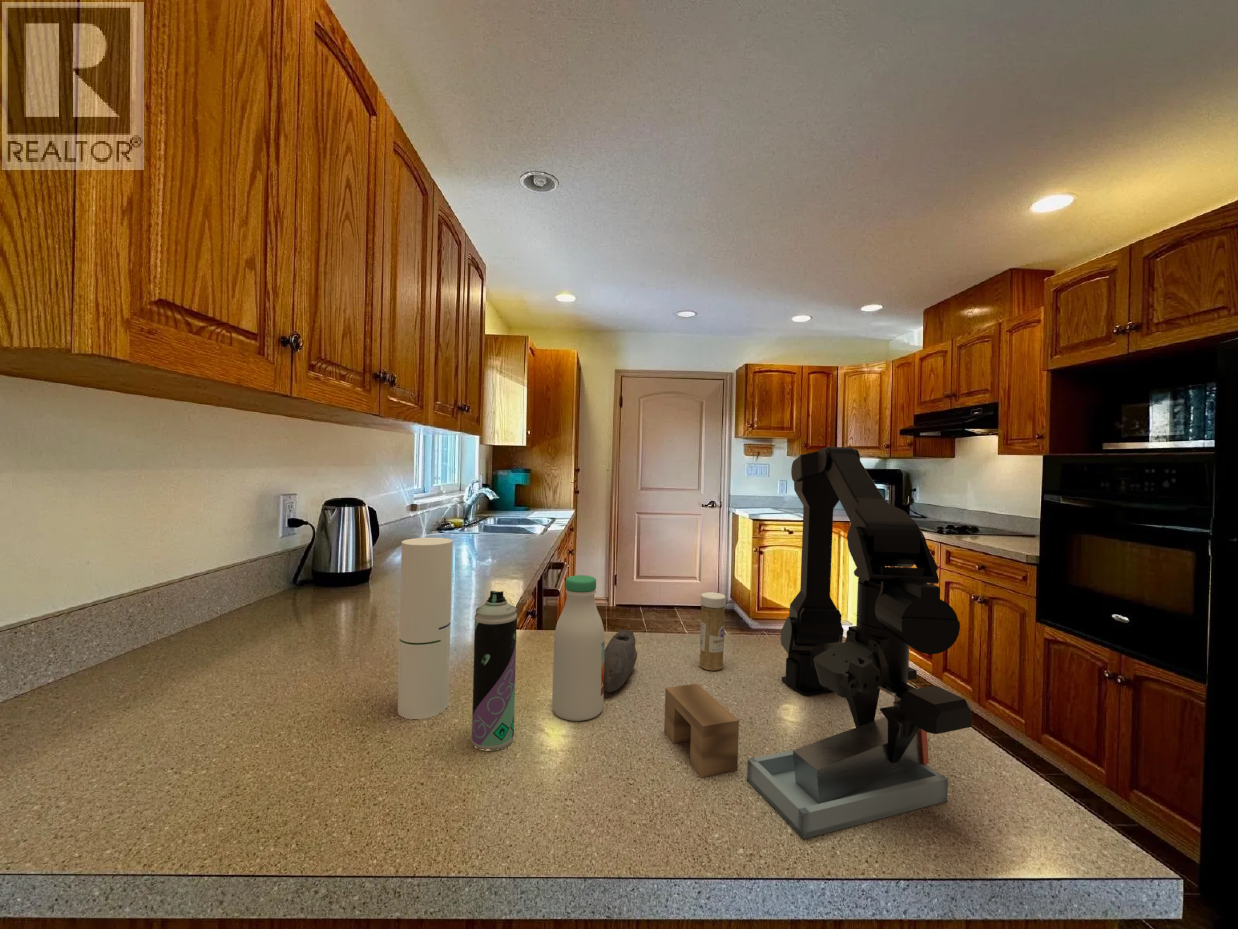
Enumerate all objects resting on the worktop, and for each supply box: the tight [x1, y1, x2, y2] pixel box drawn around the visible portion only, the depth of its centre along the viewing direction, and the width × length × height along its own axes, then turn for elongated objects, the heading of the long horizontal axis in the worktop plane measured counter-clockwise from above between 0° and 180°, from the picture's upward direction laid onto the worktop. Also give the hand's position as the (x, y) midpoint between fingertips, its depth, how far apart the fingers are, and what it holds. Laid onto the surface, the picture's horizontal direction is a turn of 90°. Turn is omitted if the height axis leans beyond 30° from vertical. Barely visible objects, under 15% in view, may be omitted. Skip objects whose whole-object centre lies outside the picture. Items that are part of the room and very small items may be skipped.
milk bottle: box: [551, 574, 606, 722], centre depth 78 cm, size 8×8×20 cm
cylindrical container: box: [397, 537, 453, 720], centre depth 77 cm, size 7×7×25 cm
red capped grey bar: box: [792, 705, 930, 804], centre depth 61 cm, size 16×5×5 cm, turn 109°
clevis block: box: [663, 683, 740, 778], centre depth 68 cm, size 5×11×6 cm, turn 19°
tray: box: [746, 749, 949, 840], centre depth 60 cm, size 20×10×3 cm, turn 109°
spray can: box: [471, 590, 518, 750], centre depth 69 cm, size 6×6×20 cm
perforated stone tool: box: [604, 629, 638, 693], centre depth 88 cm, size 15×5×7 cm, turn 165°
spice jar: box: [698, 591, 727, 672], centre depth 95 cm, size 5×5×13 cm
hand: (878, 752), depth 62 cm, fingers closed on red capped grey bar, 4 cm apart
